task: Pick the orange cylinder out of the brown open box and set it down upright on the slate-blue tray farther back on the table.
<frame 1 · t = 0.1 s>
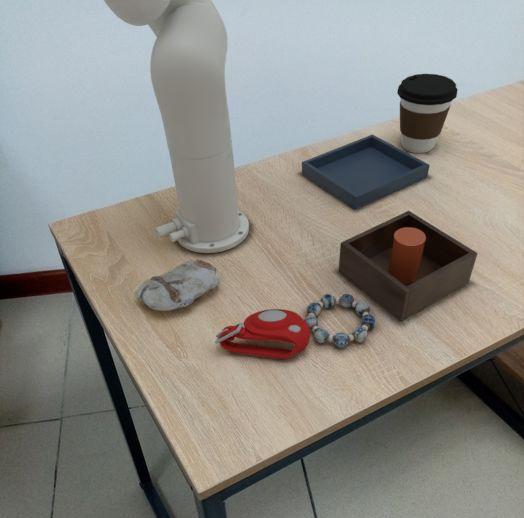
tray: (363, 175, 100), on the table
coffee cup: (417, 146, 107), on the table
bracelet: (338, 324, 74), on the table
orange cylinder: (402, 274, 80), resting on brown open box
stone: (180, 295, 80), on the table
tracker holder: (263, 338, 73), on the table
brown open box: (402, 277, 80), on the table
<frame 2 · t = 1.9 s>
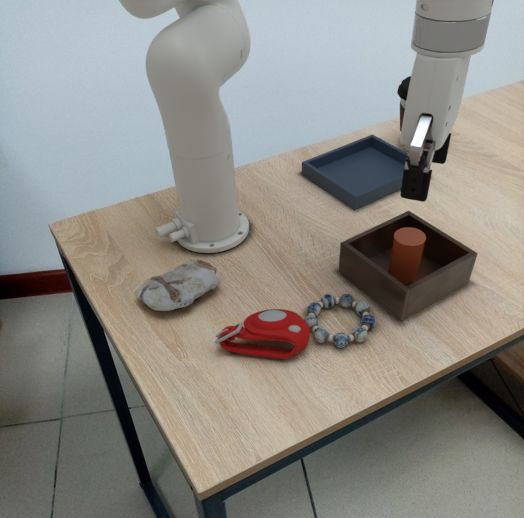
hand: (423, 179, 68), 16 cm above the table, tool pointing down, fingers open, 9 cm apart
nothing on the table moved.
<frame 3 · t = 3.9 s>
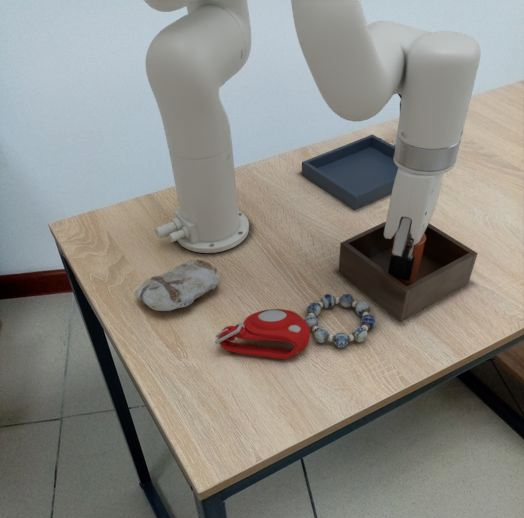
hand: (404, 265, 78), 2 cm above the table, tool pointing down, fingers closed on orange cylinder, 4 cm apart
orange cylinder: (402, 274, 80), point 1 cm above the table, touching brown open box, gripper
everything else where it was.
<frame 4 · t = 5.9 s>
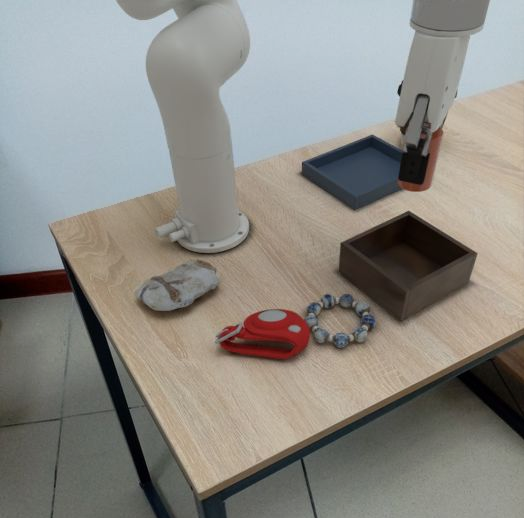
hand: (416, 170, 68), 17 cm above the table, tool pointing down, fingers closed on orange cylinder, 4 cm apart
orange cylinder: (414, 182, 69), point 15 cm above the table, touching gripper
everything else where it was.
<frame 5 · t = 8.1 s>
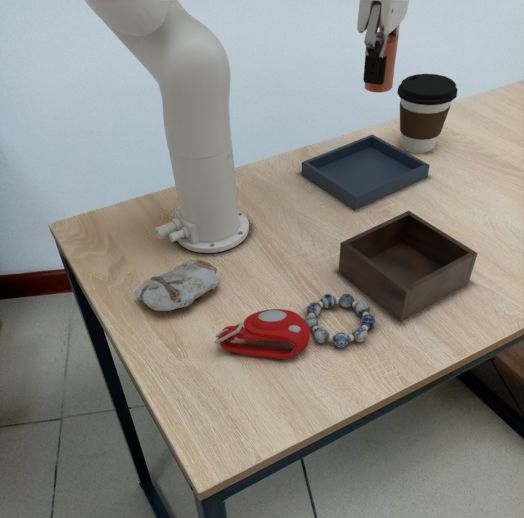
hand: (378, 75, 84), 19 cm above the table, tool pointing down, fingers closed on orange cylinder, 4 cm apart
orange cylinder: (378, 87, 85), point 17 cm above the table, touching gripper
everything else where it was.
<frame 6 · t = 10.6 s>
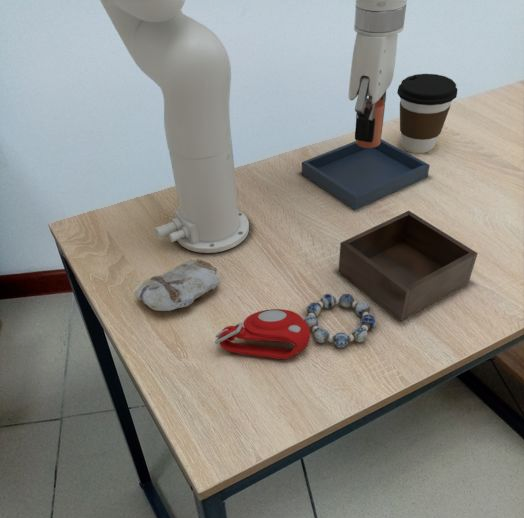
hand: (368, 132, 94), 8 cm above the table, tool pointing down, fingers closed on orange cylinder, 4 cm apart
orange cylinder: (368, 142, 96), point 6 cm above the table, touching gripper
everything else where it was.
when the fingers open (2 cm above the table, at t = 12.4 s): orange cylinder stays where it is, resting on tray.
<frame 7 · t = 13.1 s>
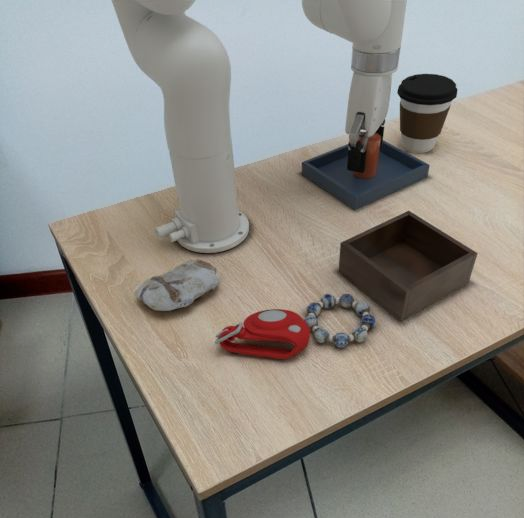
hand: (364, 158, 98), 4 cm above the table, tool pointing down, fingers open, 9 cm apart
orange cylinder: (364, 173, 100), resting on tray
everything else where it was.
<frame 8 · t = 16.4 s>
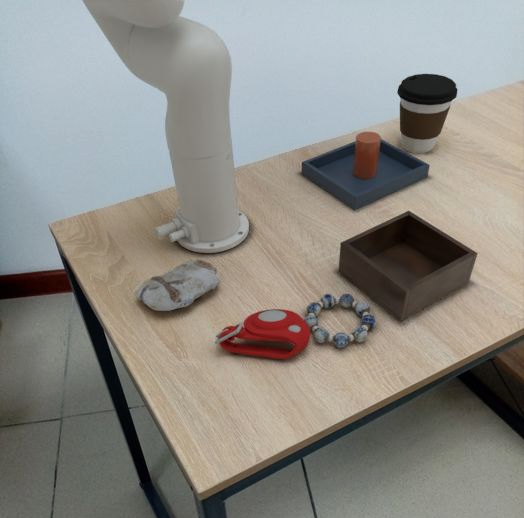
nothing on the table moved.
at the end: orange cylinder inside the target area in the tray (0.2 cm from its centre), point 0.5 cm above the tray's base; orange cylinder tilted 0° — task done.
